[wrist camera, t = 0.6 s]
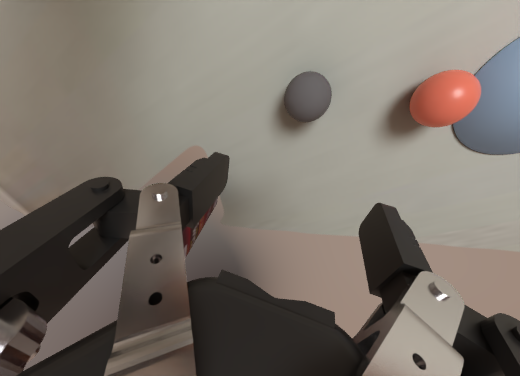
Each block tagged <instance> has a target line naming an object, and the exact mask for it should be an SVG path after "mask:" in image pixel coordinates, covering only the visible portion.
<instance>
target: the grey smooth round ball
mask: <svg viewBox="0 0 520 376" xmlns="http://www.w3.org/2000/svg"><path fill="white" fill-rule="evenodd" d="M331 96H332V93H331V87H330V84H329V82H328V81H327V79H326V78H325V77H324V76H323V75H321V74H319V73H317V72H304V73H301V74H299V75H297V76H296V77H295V78H294V79H293V80H292V81H291V82H290V83H289V85H288V87H287V89H286V92H285V97H284V102H285V107H286V109H287V111H288V113H289V114H290V116H291V117H293V118H294V119H296V120H298V121H301V122H311V121H314V120H316V119H318V118H319V117H321V116H322V115H323V114H324V113H325V112H326V110H327V109H328V107H329V105H330V102H331Z"/></svg>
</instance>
